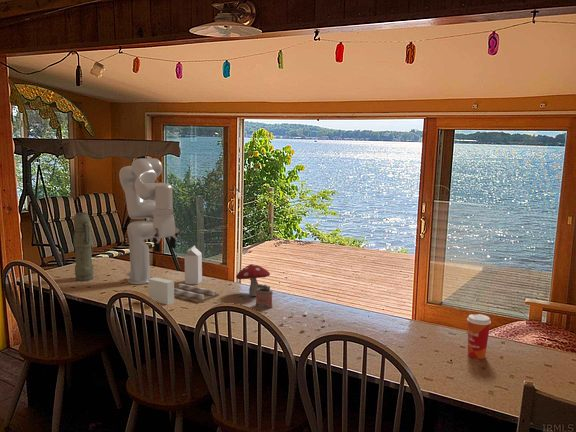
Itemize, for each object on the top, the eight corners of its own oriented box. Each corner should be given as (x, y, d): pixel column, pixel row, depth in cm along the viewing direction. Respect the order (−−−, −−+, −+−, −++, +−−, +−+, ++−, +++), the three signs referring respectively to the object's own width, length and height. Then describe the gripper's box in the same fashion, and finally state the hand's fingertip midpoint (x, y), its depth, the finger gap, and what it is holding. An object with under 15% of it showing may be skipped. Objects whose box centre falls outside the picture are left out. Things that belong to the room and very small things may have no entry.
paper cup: (461, 351, 177) (463, 313, 175) (481, 351, 177) (484, 313, 175) (470, 361, 169) (473, 321, 167) (492, 360, 170) (495, 321, 167)
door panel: (149, 300, 229) (148, 279, 228) (156, 297, 233) (155, 276, 232) (167, 304, 223) (167, 283, 222) (174, 302, 227) (174, 280, 225)
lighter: (273, 306, 222) (273, 285, 221) (270, 309, 219) (270, 287, 218) (257, 304, 226) (257, 282, 224) (254, 306, 222) (254, 284, 221)
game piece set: (321, 335, 191) (321, 325, 190) (272, 328, 198) (272, 318, 197) (334, 318, 209) (334, 310, 208) (289, 312, 216) (289, 304, 215)
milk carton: (202, 281, 262) (201, 245, 259) (198, 284, 255) (197, 248, 252) (188, 280, 263) (188, 245, 260) (184, 284, 256) (184, 247, 253)
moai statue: (85, 275, 270) (83, 211, 265) (98, 278, 263) (95, 213, 258) (70, 278, 263) (67, 212, 258) (83, 282, 256) (79, 215, 251)
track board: (163, 295, 237) (163, 288, 237) (184, 288, 249) (184, 282, 248) (198, 303, 226) (198, 296, 225) (218, 295, 237) (218, 289, 237)
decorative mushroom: (231, 298, 233) (231, 267, 231) (243, 289, 249) (243, 259, 246) (263, 301, 229) (263, 269, 227) (273, 291, 244) (274, 262, 242)
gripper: (171, 209, 232) (172, 245, 235) (143, 213, 217) (144, 252, 220) (183, 210, 228) (184, 247, 231) (156, 215, 214) (157, 254, 216)
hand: (165, 249), depth 225 cm, fingers open, 9 cm apart
